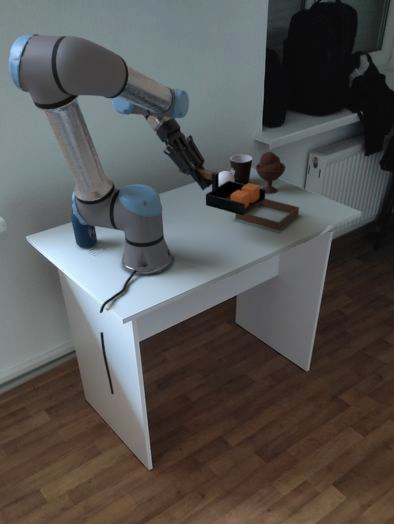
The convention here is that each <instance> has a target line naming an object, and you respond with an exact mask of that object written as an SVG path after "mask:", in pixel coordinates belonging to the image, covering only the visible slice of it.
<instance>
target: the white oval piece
mask: <svg viewBox="0 0 394 524" xmlns="http://www.w3.org/2000/svg"><path fill="white" fill-rule="evenodd" d="M218 173H219V186H220V185H222V184H224V183H225V182H227V181H232V182H235V180H234V176H233V174H232V172H230V171H228V170H223V171H220V172H218Z"/></svg>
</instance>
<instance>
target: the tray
mask: <svg viewBox="0 0 394 524" xmlns="http://www.w3.org/2000/svg"><path fill="white" fill-rule="evenodd" d="M258 206H259V207H264V208H268V209H272V210H276V211H279V212H282V213H283V212H284V213H287V215H285V216H284V217H283V218H282V219H281V220H279V221H276V220H272V219H269V218H265V217H261V216H257V215H255V214H250V213H246V214H245V215H244V216H243V215H240V214H236V213H235V220H239V221H242V222H247V223H250V224H253V225H257V226H260V227H264V228H268V229H271V230H275V231H278V232H280V230H282V229H283V228H285V226H286V225H288V224H289V223H290V222H291V221H292V220H294V219H296V217H297V216H299V211H300V207H299V206H296V205H292V204H287V203H284V202H280V201H276V200H272V199H268V198H265V201H263V202H262V203H260V204H259V205H258Z"/></svg>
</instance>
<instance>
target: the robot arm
mask: <svg viewBox="0 0 394 524" xmlns="http://www.w3.org/2000/svg"><path fill="white" fill-rule="evenodd" d="M8 70H9V74H10V78H11V81H12V82H13V85H14V86H15V87H16V88H17V89H18V90H20V91H22V92H24V93H29V95H30V97H31V100H32V102H33V104H34V106H35V108H37V109H39V110H41V111H43V112H44V114H45V116H46V118H47V120H48V122H49V126H50V127H51V129H52V132H53V134H54V137H55V139H56V141H57V143H58V146H59V149H60V151H61V153H62V155H63V157H64V159H65V162H66V164H67V166H68V170H69V171H70V174H71V177H72V178H73V180H74V183H75V185H74V188H73V192H72V196H71V201H72V204H71V207H72V210H73V211H74V214H75V215H76V217H77V218H78V219H79V220H80V221H81V222H83V223H85V224H89V225H91V226H95V227H98V228H104V229H111V230H116V231H122V232H124V239H125V244H124V250H123V254H122V257H121V261H122V266H123V268H124V270H125V271H127V272H128V273H131V274H130V275H129V277H127V279H126V280H125V282H124V285H123V287H122V289H121V290H119V291H118V292H117V293H115V294H113V295H112V296H110V298H108V299H106V300H105V301H103V303H102V304H101V307H100V310H99V314H102V313H103V312H104V309H105V307H106V305H108V304H109V303H110V302H112V301H113V300H115V299H116V298H118V297H119V296H121V295H122V294H123V293H124V292H125V291H126V289H127V287H128V284H129V283H130V281H131V280H132V278H133V277H134V276H135V275H138V276H152V275H156V274H159V273H162V272H164V271H165V270H167V269H168V268H170V266H171V264H172V261H173V259H172V258H173V257H172V251H171V249H170V248H169V246H168V244H167V242H166V239H165V234H164V221H163V206H162V202H161V196H160V193H159V192H158V191H157V190H156V189H155V188H154V187H151V186H150V185H146V184H140V183H136V184H126V185H124V186H122V187H121V188H120V189H119V188H117V187H115V183H114V180H113V178H112V177H111V176H110V175H109V174H106V173H105V172H104V168H103V166H102V163H101V160H100V157H99V155H98V152H97V149H96V147H95V145H94V141H93V138H92V136H91V133H90V131H89V128H88V126H87V125H88V124H87V123H86V120H85V117H84V115H83V111H82V109H81V107H80V103H79V101H78V98H79V96H94V97H95V96H96V97H102V98H106V99H109V100H111V103H112V104H111V105H112V106H113V109H114V110H115V112H117V113H119V114H120V115H126V116H129V115H140V116H143V118H144V119H145V120H146V122H147V123H148V125H149V126H150V128H151V129H152V130H153V132H155V134H156V136H157V137H158V139H159V140H160V141H161V143H164V144H165V148H164V149H163V151H162V152H163V153H164V154H165V155H166V156H168V157H169V159H170V160H171V161H172V162H173V163H174V164H175V165H176V167H177V168H178V170H179V169H180V170H181V171H182V172H183V173H182V174H184V175H186V176H191V178H192V179H193V180H194V181H195V182H196V183H197V185H198V186H199V188H200V189H201V190H202V191H205V190H206V189H207V188H209V187H210V186H212V180H210V179H206V178H203V176H202V175H201V174H200V172H199V171H198V169H195V170H194V167H196V168H201V169H205V170H206V168H205V167H204V164H205V158H204V157H203V155H202V153H201V152H200V150H199V148H198V147H197V145H196V143H195V141H194V138H193V136H192V135H191V134H189V135H188V136H186V135H185V134H184V133H183V132H182V131H181V125H180V123H179V122H178V121H177V120H176V119H184V118H185V117H186V115H187V114H188V111H189V106H190V99H189V94H188V92H187V91H186V90H184V89H178V88H171V87H168V86H166V85H164V84H163V83H161V82H158V81H157V80H155V79H153V78H151V77H149V76H148V75H146V74H144V73H142V72H140V71H139V70H137V69H134V68H133V67H132V66H129V65H128V64H127V62H126V60H125V59H124V58H123V57H122V56H121V55H119V54H118V53H115V52H114V51H112V50H110V49H108V48H106V47H105V46H102V45H100V44H98V43H96V42H93V41H91V40H89V39H86V38H83V37H79V36H73V35H72V36H71V35H69V36H67V35H41V34H38V33H34V34H27V35H25V34H24V35H21V36H19V37H18V38H16V39H15V40H14V42H13V44H12V45H11V47H10V51H9V58H8ZM186 173H187V174H186ZM99 335H100V343H101V351H102V357H103V361H104V365H105V366H104V367H105V370H106V374H107V379H108V383H109V390H110V394H111V395H114V393H115V392H114V387H113V382H112V378H111V377H112V376H111V372H110V367H109V363H108V358H107V353H106V346H105V338H104V337H105V336H104V332H103V331H101V332H100V334H99Z"/></svg>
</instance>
